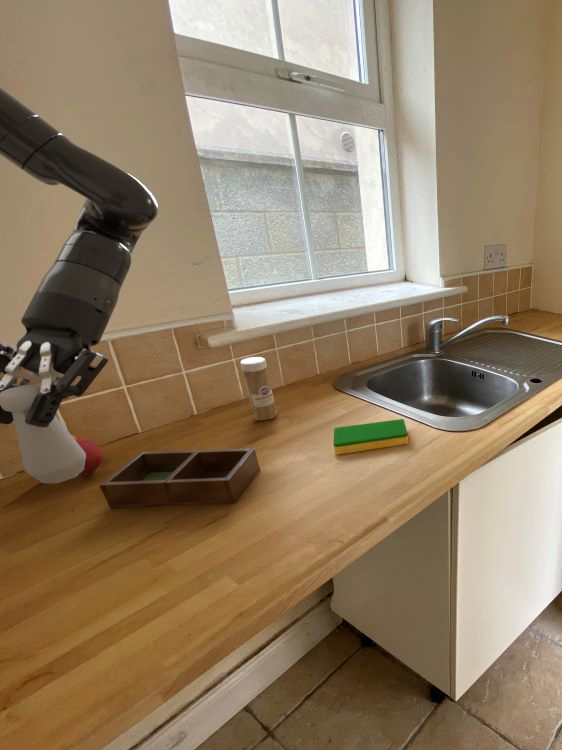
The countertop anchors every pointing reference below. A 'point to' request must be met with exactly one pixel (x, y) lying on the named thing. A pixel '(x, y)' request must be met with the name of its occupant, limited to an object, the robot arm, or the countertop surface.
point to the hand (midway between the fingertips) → (17, 423)
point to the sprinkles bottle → (259, 388)
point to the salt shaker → (42, 440)
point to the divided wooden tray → (181, 478)
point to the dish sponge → (370, 436)
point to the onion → (90, 456)
